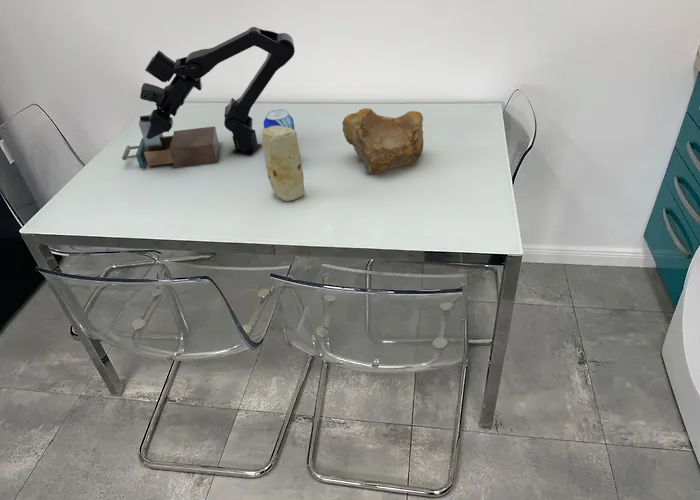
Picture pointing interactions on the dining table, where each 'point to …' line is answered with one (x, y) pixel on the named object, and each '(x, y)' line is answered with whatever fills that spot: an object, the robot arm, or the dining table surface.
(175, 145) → the cabinet
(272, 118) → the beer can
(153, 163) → the drawer
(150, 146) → the grey box with handle
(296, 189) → the food model
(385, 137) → the rough brown rock
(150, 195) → the dining table surface
